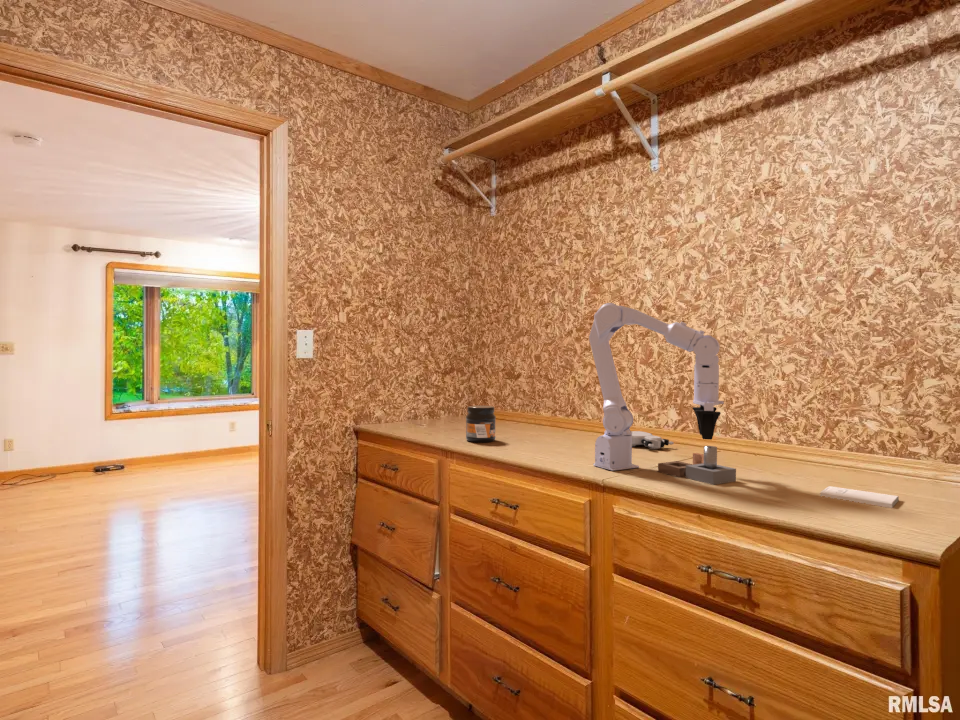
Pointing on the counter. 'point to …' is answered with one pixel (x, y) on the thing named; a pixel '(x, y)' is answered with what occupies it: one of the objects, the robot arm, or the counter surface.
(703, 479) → the block
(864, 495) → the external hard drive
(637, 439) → the robot toy
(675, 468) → the socket block
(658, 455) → the counter surface
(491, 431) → the supplement container
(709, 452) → the rounded metal peg
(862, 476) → the counter surface
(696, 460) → the pin
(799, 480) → the counter surface
